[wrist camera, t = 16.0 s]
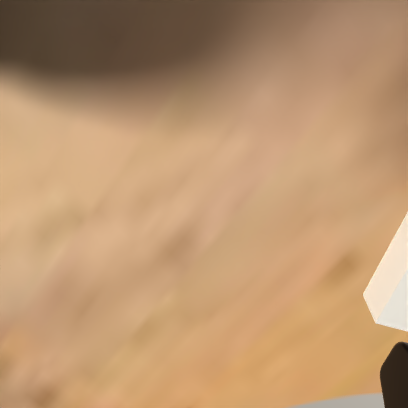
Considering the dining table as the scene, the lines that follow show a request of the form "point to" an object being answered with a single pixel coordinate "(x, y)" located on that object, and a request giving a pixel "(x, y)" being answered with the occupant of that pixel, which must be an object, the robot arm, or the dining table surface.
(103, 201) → the dining table surface
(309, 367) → the dining table surface
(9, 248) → the dining table surface
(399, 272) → the keyhole board
